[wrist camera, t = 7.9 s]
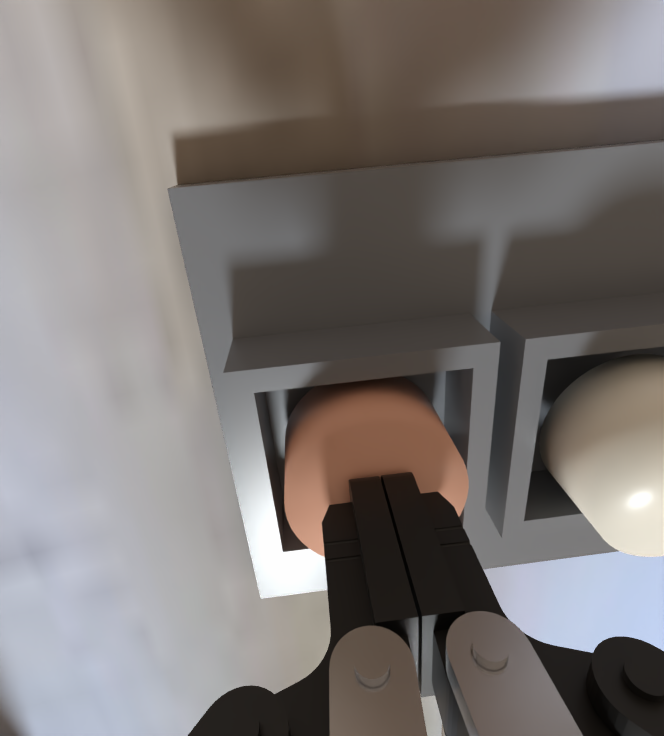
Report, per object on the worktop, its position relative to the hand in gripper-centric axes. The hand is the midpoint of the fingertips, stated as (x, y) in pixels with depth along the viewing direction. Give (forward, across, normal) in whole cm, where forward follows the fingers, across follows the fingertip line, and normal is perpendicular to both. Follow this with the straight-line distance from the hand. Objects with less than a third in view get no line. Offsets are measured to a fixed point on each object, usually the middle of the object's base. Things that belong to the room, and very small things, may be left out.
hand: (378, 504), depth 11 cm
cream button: (+2, -7, 0) cm, 7 cm away
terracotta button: (+2, 0, 0) cm, 3 cm away
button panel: (+4, -7, 0) cm, 8 cm away
